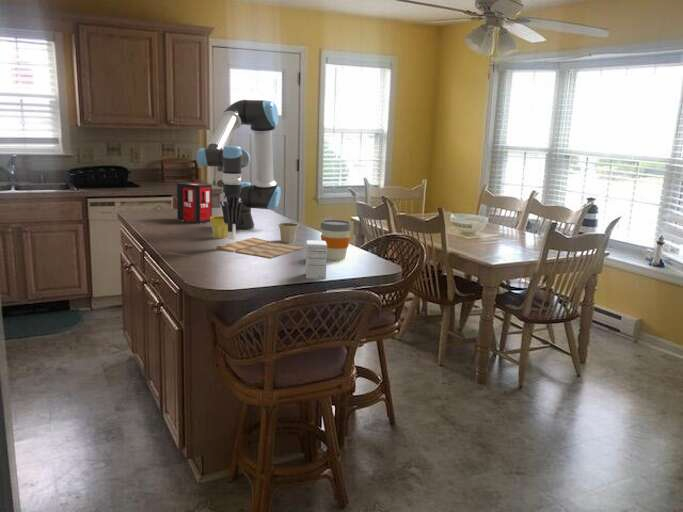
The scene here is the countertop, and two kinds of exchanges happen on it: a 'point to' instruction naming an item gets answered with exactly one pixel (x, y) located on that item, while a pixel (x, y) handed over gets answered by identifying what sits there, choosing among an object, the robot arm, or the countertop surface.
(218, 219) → the plant pot
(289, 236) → the flower pot
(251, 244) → the board
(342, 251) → the reusable coffee cup
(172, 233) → the countertop surface
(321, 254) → the supplement box
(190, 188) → the cleaning product box
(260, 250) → the laid floor
